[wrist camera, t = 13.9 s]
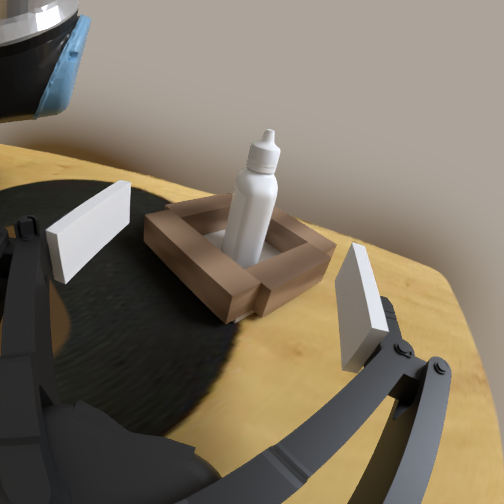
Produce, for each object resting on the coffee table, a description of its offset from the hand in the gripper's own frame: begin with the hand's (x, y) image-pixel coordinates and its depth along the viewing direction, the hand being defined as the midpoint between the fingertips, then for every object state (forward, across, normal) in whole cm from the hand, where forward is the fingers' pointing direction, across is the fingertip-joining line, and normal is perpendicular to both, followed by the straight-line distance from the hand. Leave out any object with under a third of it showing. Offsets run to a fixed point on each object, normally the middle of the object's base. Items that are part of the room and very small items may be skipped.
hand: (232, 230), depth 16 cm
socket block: (+9, 0, -8) cm, 12 cm away
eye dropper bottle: (+9, 0, -8) cm, 12 cm away
